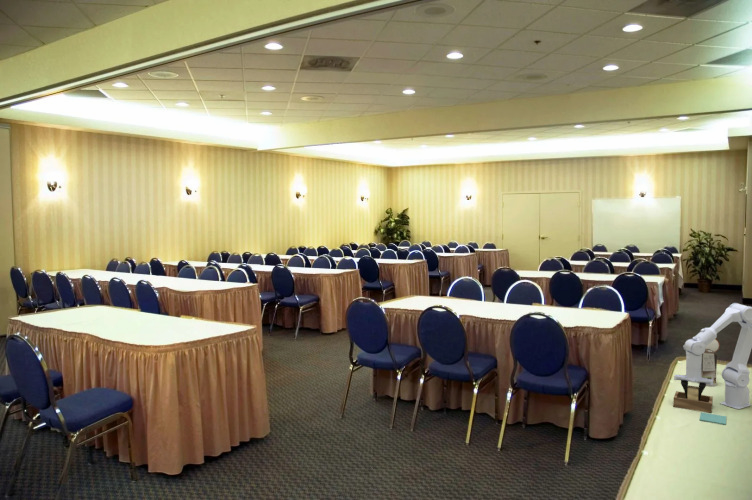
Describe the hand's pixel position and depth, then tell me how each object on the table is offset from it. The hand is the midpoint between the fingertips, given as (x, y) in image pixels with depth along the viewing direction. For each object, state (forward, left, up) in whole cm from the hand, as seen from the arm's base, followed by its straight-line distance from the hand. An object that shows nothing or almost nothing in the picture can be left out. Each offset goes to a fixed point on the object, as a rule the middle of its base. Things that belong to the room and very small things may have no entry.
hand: (693, 398), depth 235 cm
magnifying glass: (-48, -23, -4) cm, 54 cm away
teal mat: (+6, +13, -4) cm, 14 cm away
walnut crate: (0, 0, -4) cm, 4 cm away
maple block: (0, 0, -1) cm, 1 cm away
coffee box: (-34, -16, -4) cm, 38 cm away
